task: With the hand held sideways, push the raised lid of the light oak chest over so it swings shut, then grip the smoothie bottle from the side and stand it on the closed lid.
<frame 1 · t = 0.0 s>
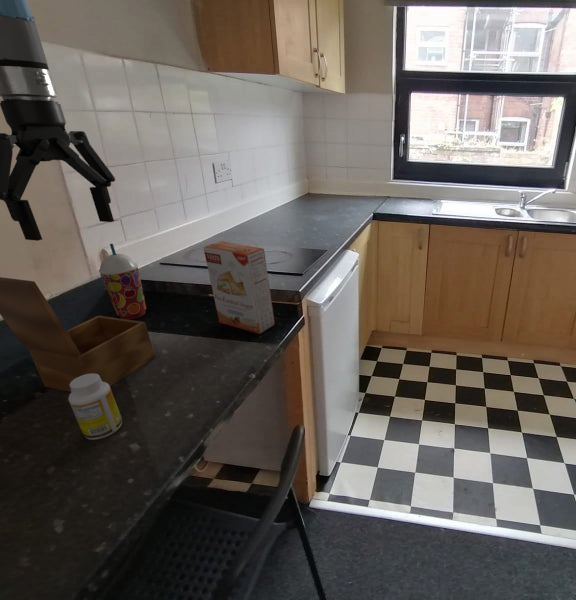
hand: (73, 230, 73), 30 cm above the counter, tool pointing down, fingers open, 13 cm apart
chest: (103, 371, 85), on the counter
smoothie: (133, 316, 109), on the counter
supplement bottle: (104, 430, 69), on the counter
lid: (29, 317, 70), point 17 cm above the counter, hinge at 100.0°
cracker box: (247, 325, 104), on the counter
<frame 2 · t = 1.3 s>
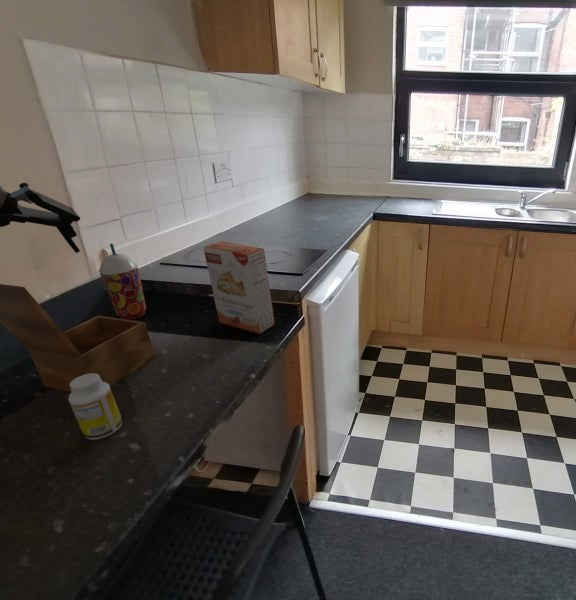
hand: (33, 265, 73), 24 cm above the counter, tool tilted 40°, fingers open, 13 cm apart
lid: (24, 320, 69), point 17 cm above the counter, hinge at 106.2°, touching gripper
everything else where it was.
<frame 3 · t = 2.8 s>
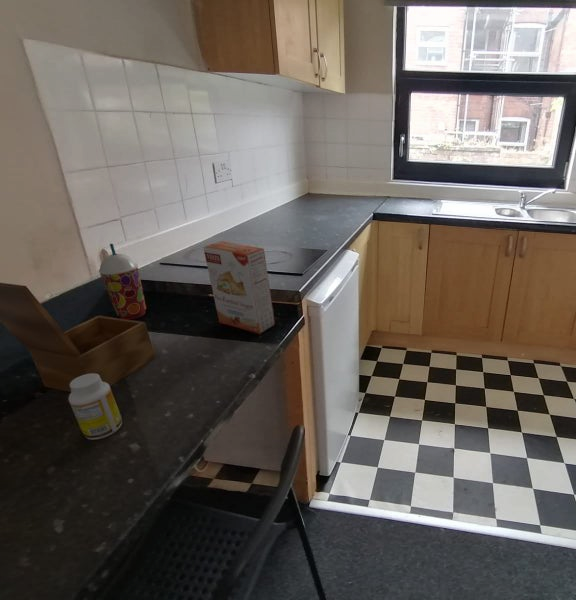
lid: (25, 319, 69), point 17 cm above the counter, hinge at 105.1°
everything else where it was.
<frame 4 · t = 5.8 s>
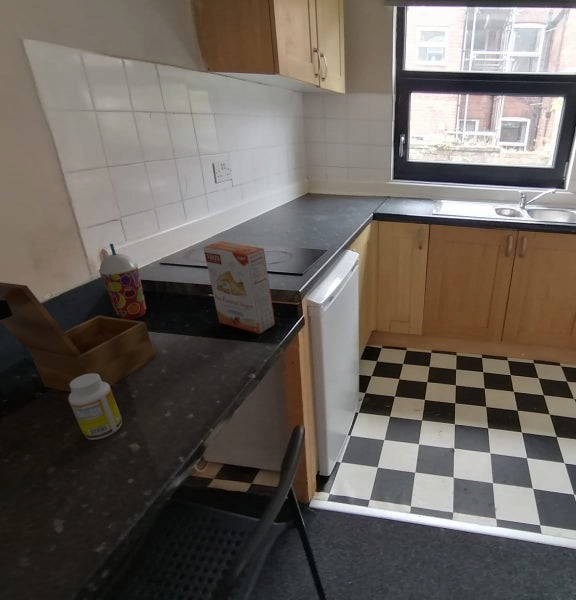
hand: (6, 307, 66), 20 cm above the counter, tool horizontal, fingers closed
lid: (25, 319, 69), point 17 cm above the counter, hinge at 104.7°, touching gripper
everything else where it was.
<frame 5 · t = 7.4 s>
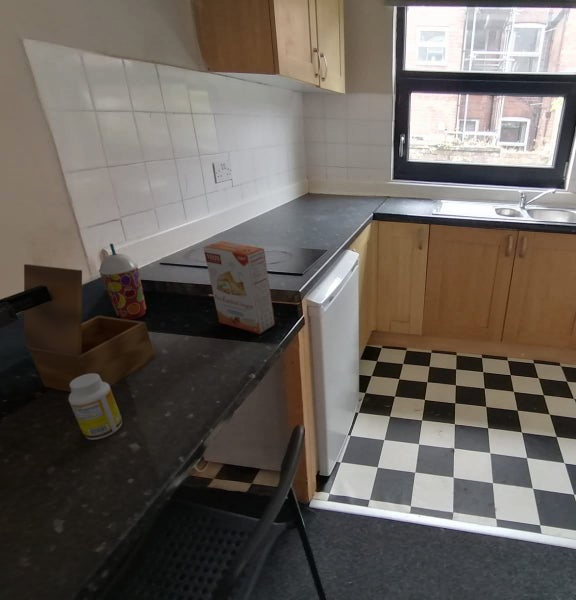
hand: (45, 292, 72), 20 cm above the counter, tool horizontal, fingers closed
lid: (52, 309, 74), point 17 cm above the counter, hinge at 70.7°
everything else where it was.
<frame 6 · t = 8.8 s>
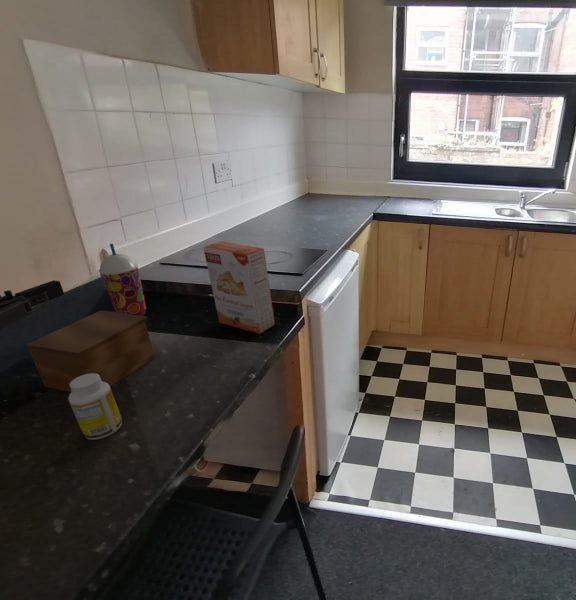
hand: (58, 287, 74), 20 cm above the counter, tool horizontal, fingers closed
lid: (91, 331, 81), point 9 cm above the counter, hinge at -0.1°
everything else where it was.
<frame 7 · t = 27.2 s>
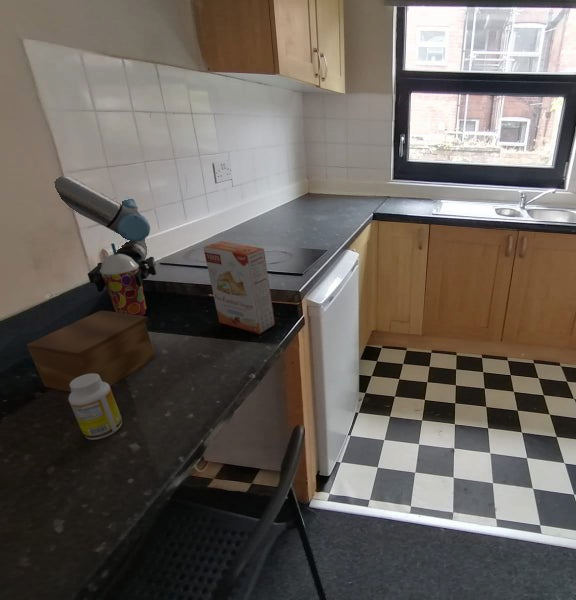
hand: (118, 283, 100), 11 cm above the counter, tool horizontal, fingers closed on smoothie, 8 cm apart
smoothie: (133, 316, 109), on the counter, touching gripper
everything else where it was.
when the fingers open (21 cm above the counter, at t = 36.8 s): smoothie stays where it is, resting on lid.
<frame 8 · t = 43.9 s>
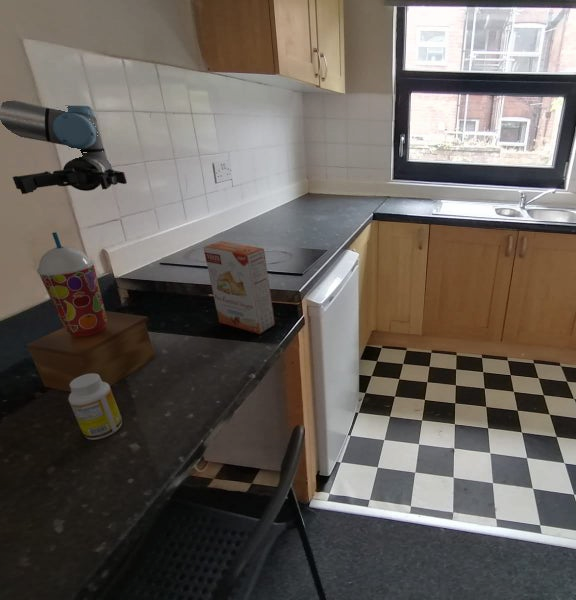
hand: (63, 184, 83), 36 cm above the counter, tool horizontal, fingers open, 13 cm apart
smoothie: (89, 331, 81), point 9 cm above the counter, touching lid
lid: (91, 331, 81), point 9 cm above the counter, hinge at -0.2°, touching chest, smoothie
everything else where it was.
at the end: lid at +0° (first picture: +100°); smoothie inside the target area on the chest (0.0 cm from its centre), point 9.5 cm above the chest's base; smoothie tilted 0° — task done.
